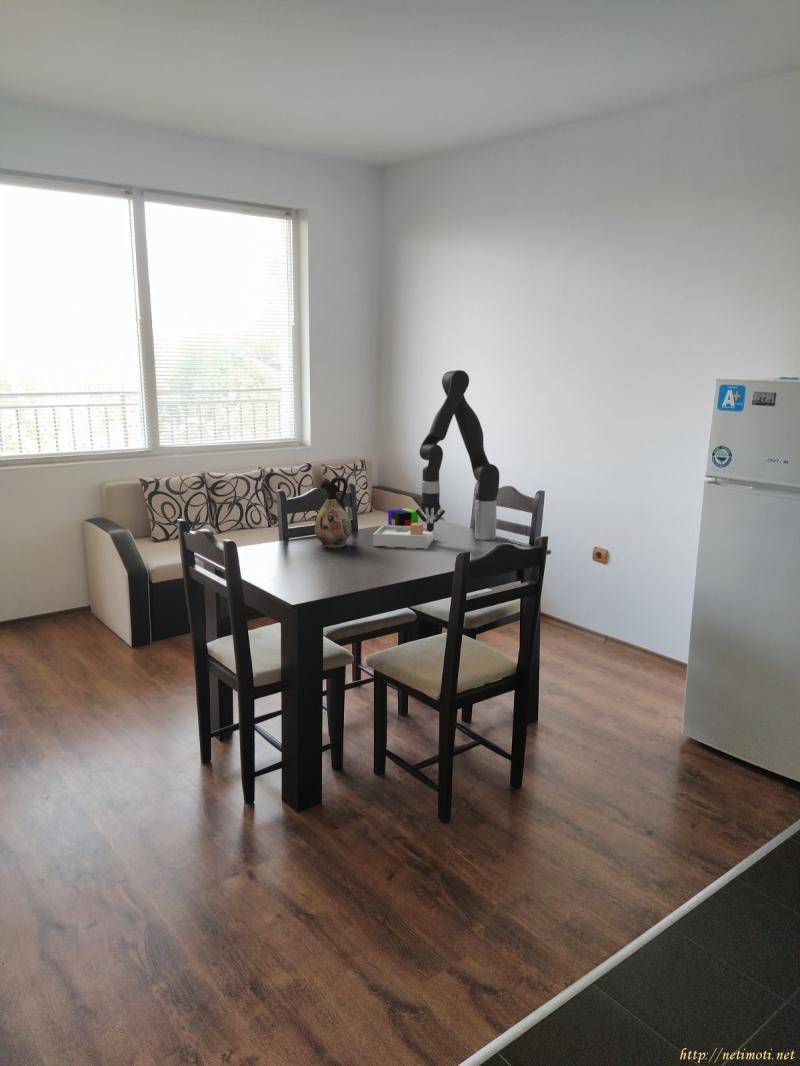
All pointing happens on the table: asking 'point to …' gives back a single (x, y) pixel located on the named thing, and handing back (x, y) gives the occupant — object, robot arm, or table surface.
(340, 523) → the ceramic jug
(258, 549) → the table surface
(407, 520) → the puzzle toy
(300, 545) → the table surface
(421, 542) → the box
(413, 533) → the block
